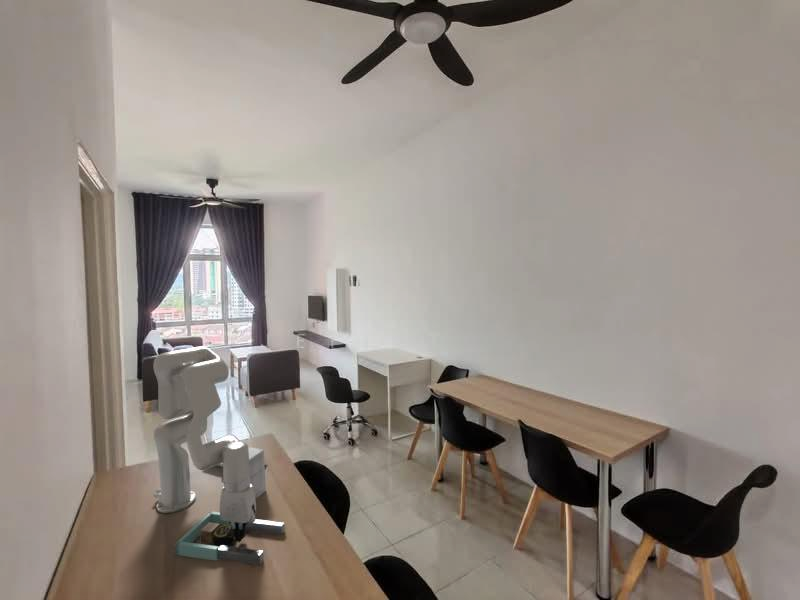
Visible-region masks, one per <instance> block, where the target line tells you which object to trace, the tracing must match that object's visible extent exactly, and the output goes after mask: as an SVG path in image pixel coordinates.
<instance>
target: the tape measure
mask: <svg viewBox="0 0 800 600" xmlns="http://www.w3.org/2000/svg"><path fill="white" fill-rule="evenodd" d="M212 540H213V543H212V544H213V546H218V547H220V546H221V545H223V546H230V545H233V544H234V542H235V536H234V529H232V525H220V527H219V528H218V529H216V530H215V532H214V533H213V537H212Z"/></svg>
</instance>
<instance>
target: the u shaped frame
mask: <svg viewBox="0 0 800 600" xmlns="http://www.w3.org/2000/svg"><path fill="white" fill-rule="evenodd" d="M209 522H211V523H218V524H220V526H224V525H231V524H230V523H229V522H228V521H223V520H221V518H220V511H219V512H218V511H211V510H210V511H209V512H208V513H206V515H204V516H203V517H202V518H201V519H200V520H199V521H198V522H197V523H196V524H195V525H194V526H192V528H191V529H189V530H187V532H186V533H184V535H182V537H180V538H179V539H178V540H177V541H176V542H175V543H174V550H175V556H182V557H187V558H188V557H189V558H196V559H204V560H211V561H218V560H219V559H218V555H217V549H218V548H219V547H218V546H215V545H212V544H205V543H196V542H195V541H196V539H197V538H198V537H200V530H201V529H202V528H203V527H204V526H206V525H207V524H208V523H209ZM194 542H195V543H194Z"/></svg>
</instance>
